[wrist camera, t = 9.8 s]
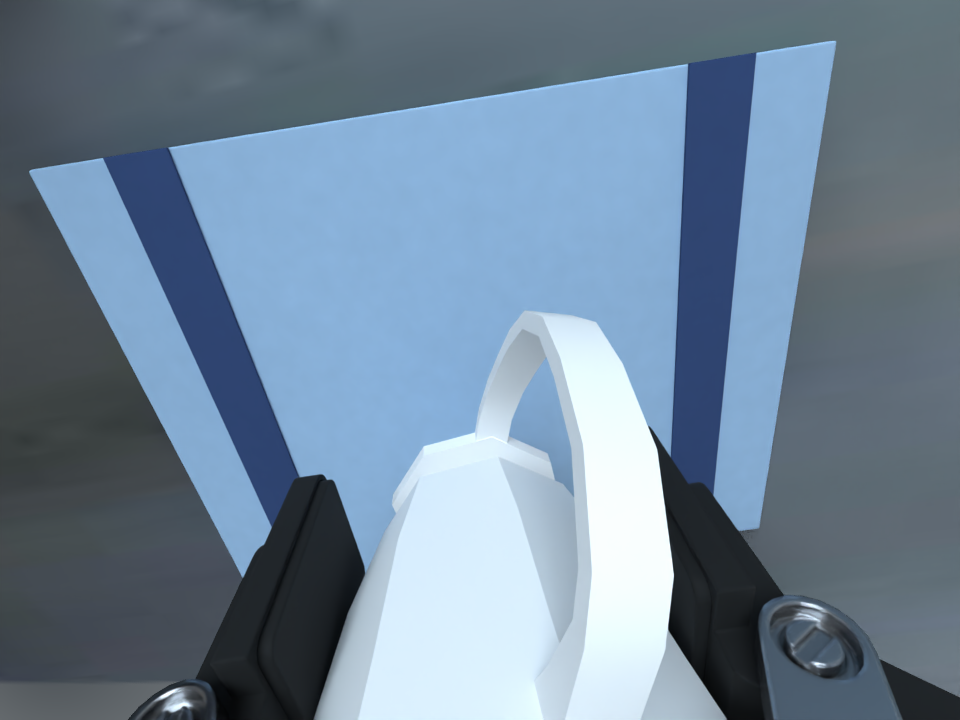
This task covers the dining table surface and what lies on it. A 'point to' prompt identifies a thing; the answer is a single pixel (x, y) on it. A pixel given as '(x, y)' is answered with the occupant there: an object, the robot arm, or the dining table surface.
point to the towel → (459, 277)
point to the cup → (524, 564)
